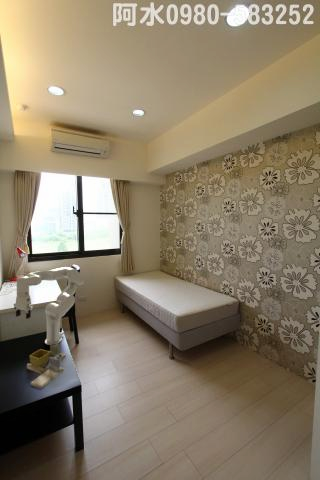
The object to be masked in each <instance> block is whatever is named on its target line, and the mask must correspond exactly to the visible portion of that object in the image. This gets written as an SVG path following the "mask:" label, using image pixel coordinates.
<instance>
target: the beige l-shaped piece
mask: <svg viewBox="0 0 320 480" xmlns="http://www.w3.org/2000/svg"><path fill="white" fill-rule="evenodd" d="M60 357H61V356H59V355H56V356H55V357H51V356H49V360H48V365H49V369H48V370H47V371H46V372H44V373H43V374H40V375H38V377H37V378H35V379H33V380H32V381H31V382H30V385H31V386H33V387H36V388H38V389H43V388H44V387H45V386H46V385H48V384H49V382H51V381H53V380H54V379H55V378H56V377H58V375H60V373H62V372H63V371H64V368H63V367H61V363H60V362H61V360H60Z"/></svg>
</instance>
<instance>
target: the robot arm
mask: <svg viewBox="0 0 320 480" xmlns="http://www.w3.org/2000/svg"><path fill="white" fill-rule="evenodd" d="M64 278H67V286H66V287H65V288H64V289H63V290H62V291H61V293H59V295H57V297H56V302H57V303H56V302H49V303H47V305H46V306H45V309H44V312H45V317H46V339H45V340H44V343H45V344H46V345H48V346H50V345H53V346H54V345H55V344H60V342H62V341H63V337H62V335H64V334H65V331H62V332H60V331H61V330H60V329H61V326H60V325H61V323H60V322H61V321H60V320H61V318H62V317H64V316H65V315H66V314H67V312H68V311H69V310H70V309H71V308H72V307H73V306H74V304H75V301H76V298H75V296H74V294H75V293H76V291H77V289H78V288H77V287H78V286H82V285H83V284H84V283H85V281H86V278H85V275H83V274H82V273H80V272H79V271H77V270H76V269H75V268H72V267H67V266H64V267H58V268H54V269H48V270H39V271H35V272H30V273H27V274H26V275H22V276H18V277H17V278H16V296H15V303H13V306H14V307H13V308H14V311H15V317H20V316H21V315H22V313H21V311H25V312H26V313H25V319H26V320H27V319H30V318H31V316H32V315H31V313H32V311H33V309H34V306H33V305H32V299H31V295H30V287H31V286H39V285H40V284H42V281H56V280H60V279H64ZM77 285H78V286H77Z"/></svg>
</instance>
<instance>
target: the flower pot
mask: <svg viewBox="0 0 320 480" xmlns="http://www.w3.org/2000/svg"><path fill="white" fill-rule="evenodd" d="M49 351H50V350H45V349H42V348H40V349H38V350H37V351H35V352H33V353H32V354H30V355H29V362H30V364H32V365H35V366H38V367H41V368H44V367H46V365H47V364H48V363H49V357H50V352H49Z"/></svg>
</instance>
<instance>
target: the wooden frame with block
mask: <svg viewBox="0 0 320 480" xmlns="http://www.w3.org/2000/svg"><path fill="white" fill-rule="evenodd" d="M60 346H61V344H60V343H57V344H54V345H49V350H48V351H49V352H50V354H49V357H55V356H56V355H59V356H60V361H61V360H63V359H64V358H65V357H67V356H66V353H61V347H60ZM26 369H27V370H30V371H33V372H35V373H38V374H40V375H42V374H43V373H44V372H46V371H47V370H48V369H49V364H48V365H47V366H45V368H44V367H42V368H41V367H38V366H35V365H32V364H31V363H27V364H26Z"/></svg>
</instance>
